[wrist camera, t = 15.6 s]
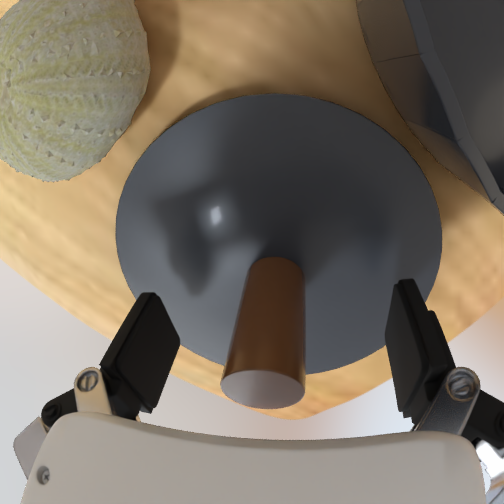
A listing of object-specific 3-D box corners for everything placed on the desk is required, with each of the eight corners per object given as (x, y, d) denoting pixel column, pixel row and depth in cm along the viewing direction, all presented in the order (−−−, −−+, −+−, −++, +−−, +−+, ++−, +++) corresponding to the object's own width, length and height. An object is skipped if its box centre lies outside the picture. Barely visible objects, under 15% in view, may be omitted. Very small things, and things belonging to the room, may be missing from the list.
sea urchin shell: (75, 229, 11) (-75, 203, 5) (76, 125, 14) (-27, 92, 7) (213, 72, 7) (-8, -42, 1) (173, 9, 10) (57, -55, 3)
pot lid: (119, 309, 17) (72, 390, 12) (165, 46, 9) (40, 34, 3) (331, 381, 18) (332, 467, 13) (484, 199, 10) (567, 287, 4)
